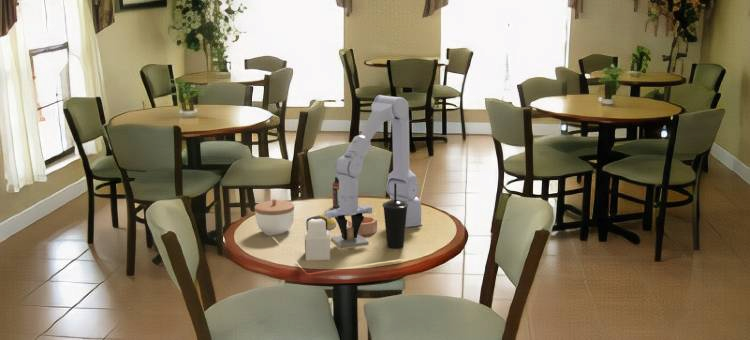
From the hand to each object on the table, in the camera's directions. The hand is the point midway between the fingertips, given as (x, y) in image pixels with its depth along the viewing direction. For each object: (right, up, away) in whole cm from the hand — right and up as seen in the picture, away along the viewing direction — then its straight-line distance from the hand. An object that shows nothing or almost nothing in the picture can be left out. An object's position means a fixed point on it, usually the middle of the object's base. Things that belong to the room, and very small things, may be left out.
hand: (349, 238), depth 237 cm
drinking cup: (+14, -3, -4) cm, 15 cm away
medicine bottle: (-9, -5, -12) cm, 15 cm away
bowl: (+4, +1, +11) cm, 12 cm away
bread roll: (-9, +2, +17) cm, 19 cm away
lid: (0, -1, 0) cm, 1 cm away
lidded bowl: (-24, +1, +12) cm, 27 cm away
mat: (0, -2, 0) cm, 2 cm away
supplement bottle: (-4, +8, +41) cm, 42 cm away
